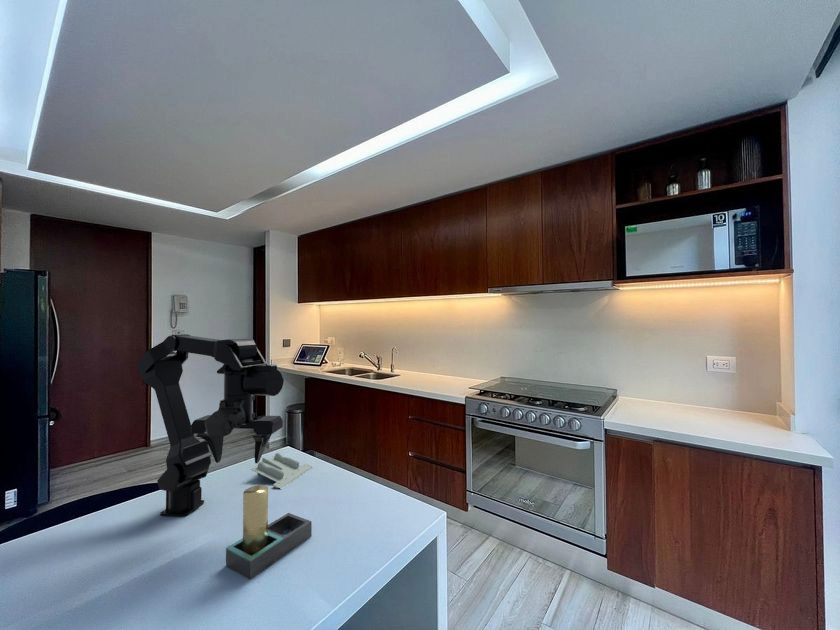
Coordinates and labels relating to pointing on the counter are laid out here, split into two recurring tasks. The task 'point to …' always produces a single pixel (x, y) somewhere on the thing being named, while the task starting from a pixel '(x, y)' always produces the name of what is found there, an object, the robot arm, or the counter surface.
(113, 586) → the counter surface
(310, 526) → the hole rail
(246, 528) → the brass post
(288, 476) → the metal bracket
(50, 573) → the counter surface
